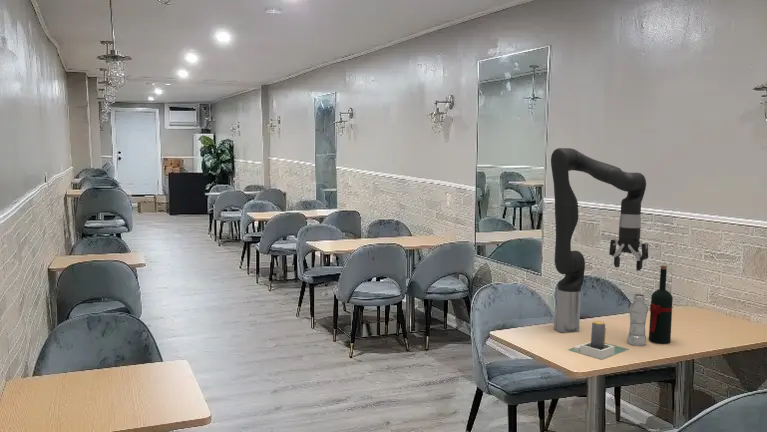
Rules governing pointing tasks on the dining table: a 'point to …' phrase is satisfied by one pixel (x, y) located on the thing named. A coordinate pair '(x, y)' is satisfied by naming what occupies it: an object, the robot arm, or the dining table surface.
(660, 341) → the wine bottle
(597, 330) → the dark grey cylinder
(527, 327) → the dining table surface
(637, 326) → the plastic bottle
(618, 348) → the board
